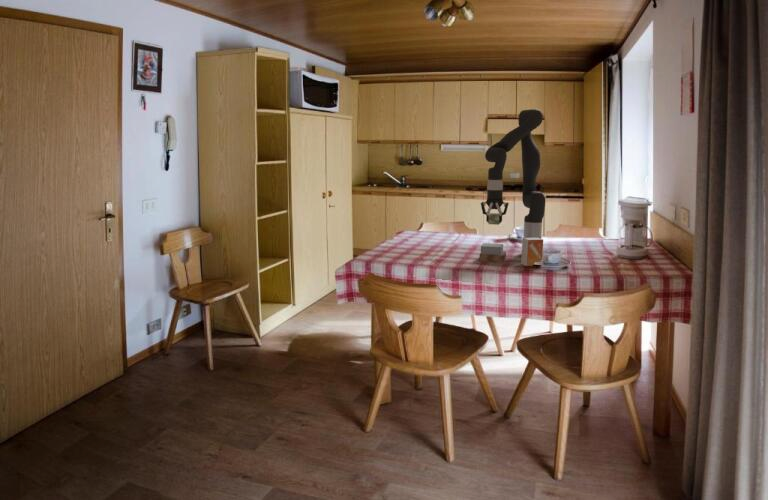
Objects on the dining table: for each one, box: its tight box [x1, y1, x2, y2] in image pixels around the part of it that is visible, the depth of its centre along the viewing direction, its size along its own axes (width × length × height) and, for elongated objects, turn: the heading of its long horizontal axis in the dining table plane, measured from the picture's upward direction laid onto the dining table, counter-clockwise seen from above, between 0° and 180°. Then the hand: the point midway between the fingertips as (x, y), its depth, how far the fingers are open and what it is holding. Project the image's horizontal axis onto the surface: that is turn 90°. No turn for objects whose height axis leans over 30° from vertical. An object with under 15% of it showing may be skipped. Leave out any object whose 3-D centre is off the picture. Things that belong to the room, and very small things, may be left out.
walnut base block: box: [478, 250, 507, 264], centre depth 306 cm, size 12×12×4 cm
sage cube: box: [488, 212, 501, 226], centre depth 302 cm, size 5×5×5 cm
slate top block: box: [480, 242, 504, 255], centre depth 305 cm, size 10×10×4 cm
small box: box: [520, 237, 544, 267], centre depth 293 cm, size 8×6×13 cm
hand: (494, 222), depth 303 cm, fingers closed on sage cube, 5 cm apart
